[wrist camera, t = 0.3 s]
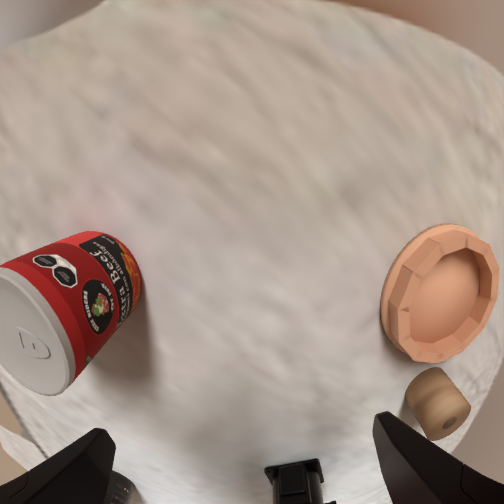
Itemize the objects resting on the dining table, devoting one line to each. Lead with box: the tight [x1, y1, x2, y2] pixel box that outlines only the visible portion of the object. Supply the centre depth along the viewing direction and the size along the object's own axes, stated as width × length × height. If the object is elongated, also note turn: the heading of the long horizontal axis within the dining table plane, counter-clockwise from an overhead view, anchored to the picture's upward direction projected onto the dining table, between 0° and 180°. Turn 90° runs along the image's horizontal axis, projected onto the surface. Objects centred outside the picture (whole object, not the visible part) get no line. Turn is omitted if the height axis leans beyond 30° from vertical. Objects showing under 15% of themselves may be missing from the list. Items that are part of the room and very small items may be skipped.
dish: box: [380, 224, 499, 363], centre depth 20 cm, size 12×12×3 cm
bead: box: [405, 367, 471, 441], centre depth 21 cm, size 5×5×6 cm
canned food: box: [0, 231, 141, 396], centre depth 16 cm, size 8×8×11 cm
